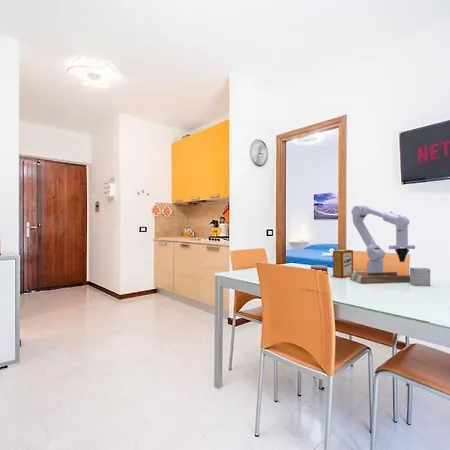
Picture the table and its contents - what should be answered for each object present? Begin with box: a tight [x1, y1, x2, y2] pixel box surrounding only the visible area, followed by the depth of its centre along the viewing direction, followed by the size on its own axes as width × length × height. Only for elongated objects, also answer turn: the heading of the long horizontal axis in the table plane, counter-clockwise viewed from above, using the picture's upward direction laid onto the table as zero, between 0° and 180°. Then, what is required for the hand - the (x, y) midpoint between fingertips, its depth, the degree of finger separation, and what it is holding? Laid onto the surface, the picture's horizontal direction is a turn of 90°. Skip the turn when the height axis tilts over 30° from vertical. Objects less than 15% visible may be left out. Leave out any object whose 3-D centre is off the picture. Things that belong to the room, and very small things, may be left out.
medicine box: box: [409, 267, 431, 287], centre depth 156 cm, size 8×4×9 cm, turn 84°
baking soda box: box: [332, 249, 354, 279], centre depth 182 cm, size 10×6×16 cm
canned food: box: [310, 264, 328, 273], centre depth 152 cm, size 8×8×11 cm
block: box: [355, 270, 368, 277], centre depth 167 cm, size 4×4×4 cm
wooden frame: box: [350, 271, 410, 285], centre depth 168 cm, size 12×27×4 cm, turn 95°
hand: (402, 261), depth 174 cm, fingers closed
